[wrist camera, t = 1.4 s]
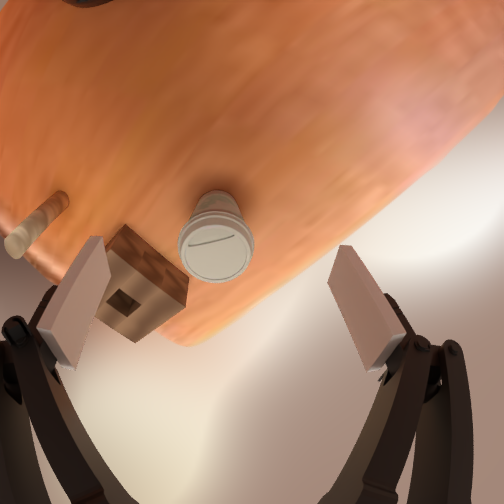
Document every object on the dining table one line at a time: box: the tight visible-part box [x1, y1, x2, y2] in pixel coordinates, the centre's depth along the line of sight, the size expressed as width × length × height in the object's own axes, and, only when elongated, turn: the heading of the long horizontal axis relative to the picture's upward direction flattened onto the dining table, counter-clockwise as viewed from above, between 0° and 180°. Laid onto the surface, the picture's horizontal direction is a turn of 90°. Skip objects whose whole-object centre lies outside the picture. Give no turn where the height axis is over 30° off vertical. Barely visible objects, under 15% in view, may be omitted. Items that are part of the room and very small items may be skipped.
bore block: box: [95, 224, 189, 343], centre depth 40 cm, size 14×14×7 cm
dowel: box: [5, 191, 69, 259], centre depth 28 cm, size 3×3×14 cm
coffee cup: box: [178, 190, 254, 283], centre depth 33 cm, size 8×8×12 cm
